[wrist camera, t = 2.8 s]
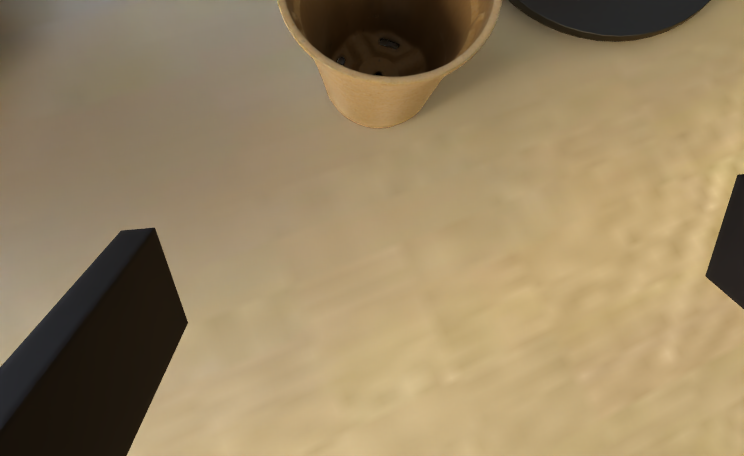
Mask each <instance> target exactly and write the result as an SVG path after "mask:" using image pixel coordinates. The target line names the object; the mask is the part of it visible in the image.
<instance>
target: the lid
mask: <svg viewBox="0 0 744 456" xmlns="http://www.w3.org/2000/svg"><path fill="white" fill-rule="evenodd" d="M509 1H510V2H511V3H512V4H513V5H515V6H516V7H517V8H519V9H520V10H521V11H523V12H524V13H525V14H527V15H528V16H530V17H531V18H533V19H535V20H537V21H538V22H540V23H542V24H543V25H546V26H548V27H550V28H553V29H555V30H557V31H560V32H562V33H566V34H569V35H572V36H576V37H579V38H585V39H590V40H596V41H612V42H617V41H633V40H638V39H643V38H648V37H652V36H655V35H658V34H661V33H664V32H667V31H669V30H671V29H673V28H675V27H677V26H679V25H681V24H683V23H684V22H685V21H687V20H688V19H690V18H691V17H693V16H694V15H695V14H697V13H698V12H699V11H700V10H701V9H702V8H703V7H704V6H705V5H706V4H707V3H709V2H710V1H711V0H509Z"/></svg>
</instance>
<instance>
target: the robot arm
mask: <svg viewBox="0 0 744 456" xmlns="http://www.w3.org/2000/svg"><path fill="white" fill-rule="evenodd" d="M706 277H707V278H708V279H709V280H710V281H712V282H713V283H714V284H715V285H716V286H717V287H719V288H720V289H721V290H722V291H723V292H724V293H726V294H727V295H728V296H729V297H730V298H731V299H732V300H734V301H735V302H736V303H737V304H738V305H739V306H741V307H742V308H743V309H744V174H741V175H737V178H736V181H735V184H734V188H733V191H732V194H731V197H730V200H729V203H728V206H727V210H726V213H725V216H724V219H723V222H722V225H721V229H720V232H719V235H718V238H717V241H716V244H715V247H714V251H713V254H712V257H711V260H710V263H709V266H708V269H707V273H706ZM187 324H188V321H187V318H186V316H185V313H184V310H183V307H182V304H181V301H180V298H179V295H178V293H177V290H176V287H175V284H174V281H173V278H172V275H171V272H170V270H169V267H168V264H167V261H166V258H165V255H164V252H163V250H162V247H161V244H160V241H159V238H158V235H157V232H156V229H155V228H146V229H135V230H123V231H120V232H119V234H118V235H117V236H116V237H115V238H114V239H113V240H112V242H111V243H110V244H109V245H108V246H107V247H106V248H105V249H104V251H103V252H102V253H101V254H100V255H99V256H98V257H97V259H96V260H95V261H94V262H93V263H92V264H91V265H90V266H89V268H88V269H87V270H86V271H85V272H84V273H83V274H82V276H81V277H80V278H79V279H78V280H77V281H76V282H75V283H74V285H73V286H72V287H71V288H70V289H69V290H68V291H67V293H66V294H65V295H64V296H63V297H62V298H61V299H60V300H59V302H58V303H57V304H56V305H55V306H54V307H53V308H52V309H51V311H50V312H49V313H48V314H47V315H46V316H45V317H44V319H43V320H42V321H41V322H40V323H39V324H38V325H37V326H36V328H35V329H34V330H33V331H32V332H31V333H30V334H29V336H28V337H27V338H26V339H25V340H24V341H23V342H22V343H21V345H20V346H19V347H18V348H17V349H16V350H15V351H14V353H13V354H12V355H11V356H10V357H9V358H8V359H7V360H6V362H5V363H4V364H3V365H2V366H1V367H0V456H127V453H128V451H129V449H130V447H131V445H132V443H133V440H134V438H135V436H136V434H137V432H138V430H139V427H140V425H141V423H142V421H143V419H144V417H145V414H146V412H147V410H148V408H149V406H150V404H151V401H152V399H153V397H154V395H155V393H156V391H157V389H158V386H159V384H160V382H161V380H162V378H163V376H164V373H165V371H166V369H167V367H168V365H169V363H170V360H171V358H172V356H173V354H174V352H175V350H176V347H177V345H178V343H179V341H180V339H181V337H182V334H183V332H184V330H185V328H186V326H187Z"/></svg>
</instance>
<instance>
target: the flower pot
mask: <svg viewBox="0 0 744 456" xmlns="http://www.w3.org/2000/svg"><path fill="white" fill-rule="evenodd" d="M277 2H278V6H279V9H280V12H281V15H282V17H283V19H284V22H285V24H286V26H287V28H288V29H289V31H290V33H291V34H292V36H293V37H294V39H295V40H296V41H297V42H298V43H299V45H300V46H301V47H302V48H303V49H304V50H305V51H306V52H307V53H308V54H309V55H310V56H311V57H312V58H313V59H314V60H315V63H316V65H317V67H318V70H319V72H320V75H321V77H322V80H323V82H324V85H325V87H326V91H327V94H328V96H329V98H330V100H331V101H332V103H333V104H334V106H335V107H336V108H337V109H338V111H339V112H340V113H341V114H342V115H344V116H345V117H346V118H348V119H349V120H351V121H353V122H355V123H357V124H359V125H362V126H366V127H372V128H387V127H392V126H395V125H397V124H400V123H402V122H404V121H406V120H408V119H410V118H412V117H413V116H414V115H416V114H417V113H418V112H419V111H420V110H421V108H422V107H423V106H424V104H425V102H426V101H427V100H428V98H429V97H430V95H431V94H432V92H433V91H434V89H435V88H436V87H437V85H438V84H439V82H440V81H441V80H442V78H443V77H444V76H445V75H447V74H449V73H451V72H453V71H454V70H456V69H458V68H459V67H460V66H462V65H463V64H464V63H466V62H467V61H468V60H469V59H471V58H472V56H473V55H474V54H475V53H476V52H477V51H478V50H479V49H480V48H481V46H482V45H483V44H484V43H485V41H486V40H487V38H488V37H489V35H490V34H491V32H492V30H493V28H494V26H495V24H496V22H497V19H498V16H499V12H500V9H501V4H502V0H277ZM380 39H388V40H390V41H392V42H394V43H397V44H398V45H399V46H398V48H397V49H394V48H390V47H387V46H383V45H380V44H379V41H380ZM340 57H344V59H345V63H344V65H343V66H342V65H340V64H338V63H337V61H338V59H339V58H340ZM377 72H380V73H381V74H382V76H377V75H375V74H376V73H377Z"/></svg>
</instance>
